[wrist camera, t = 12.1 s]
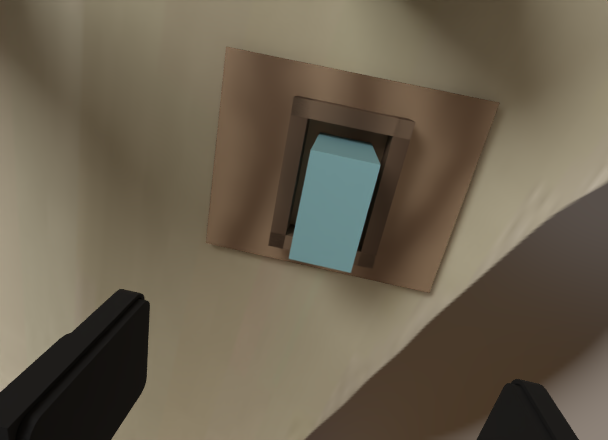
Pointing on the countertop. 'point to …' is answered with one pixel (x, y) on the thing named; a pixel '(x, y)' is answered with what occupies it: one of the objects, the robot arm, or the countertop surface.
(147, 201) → the countertop surface
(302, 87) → the keyed holder
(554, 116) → the countertop surface
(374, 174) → the keyed block
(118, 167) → the countertop surface
